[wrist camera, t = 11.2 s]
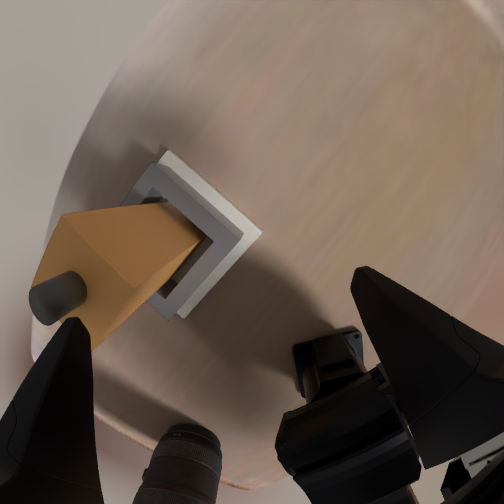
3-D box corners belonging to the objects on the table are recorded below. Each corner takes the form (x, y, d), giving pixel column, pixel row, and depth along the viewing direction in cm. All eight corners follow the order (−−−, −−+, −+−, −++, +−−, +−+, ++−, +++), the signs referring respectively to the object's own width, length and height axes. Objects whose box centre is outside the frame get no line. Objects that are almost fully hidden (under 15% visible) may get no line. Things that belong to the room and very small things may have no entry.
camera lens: (207, 464, 29) (187, 553, 14) (153, 438, 28) (115, 526, 13) (239, 439, 27) (227, 547, 13) (179, 409, 27) (137, 517, 12)
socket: (262, 230, 22) (262, 239, 18) (186, 314, 24) (171, 337, 20) (172, 151, 21) (151, 141, 17) (107, 240, 23) (79, 249, 19)
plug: (207, 234, 22) (104, 310, 7) (177, 271, 22) (66, 377, 8) (170, 201, 21) (26, 220, 6) (142, 239, 22) (1, 301, 7)
